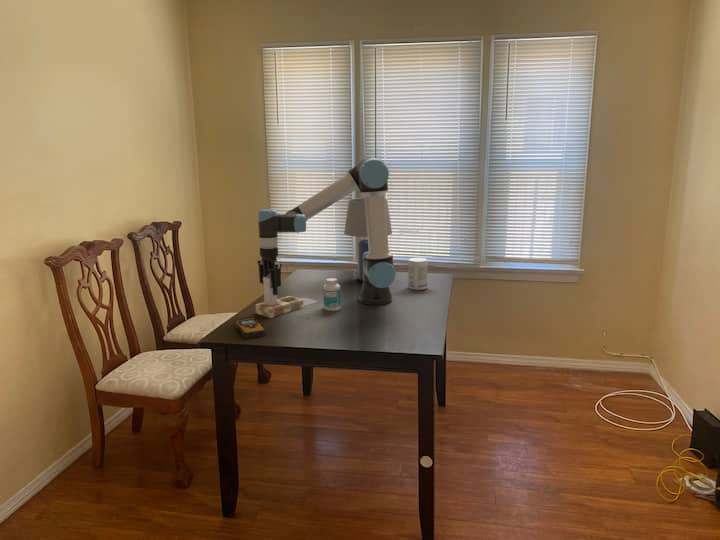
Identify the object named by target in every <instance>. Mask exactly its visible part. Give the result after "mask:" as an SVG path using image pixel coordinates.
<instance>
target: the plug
mask: <svg viewBox="0 0 720 540" xmlns="http://www.w3.org/2000/svg"><path fill="white" fill-rule="evenodd" d="M262 280H263V284H262V286H264V290H263V302H264V305H267V306H274V305H278V301H277V302H274V303H271V287H272V284H271V278H270V274H269V275H268V276H266V277H263V279H262Z"/></svg>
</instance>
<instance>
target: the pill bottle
mask: <svg viewBox="0 0 720 540" xmlns="http://www.w3.org/2000/svg"><path fill="white" fill-rule="evenodd" d="M325 282H326V283H324V285H323V287H322V288H323V310H325V311H330V312H331V311H332V312H337V311H340V310H341V307H342V306H341V305H342V303H341V300H342V299H341V285H340V284H339V283H338V279H337V278H333V277H331V278H326V279H325Z"/></svg>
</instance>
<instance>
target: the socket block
mask: <svg viewBox="0 0 720 540" xmlns="http://www.w3.org/2000/svg"><path fill="white" fill-rule="evenodd" d="M277 301H278V305H274V306H267V305H264V301H262V302H260V303H256V304H255V314H257V315H260V316H264V317H266V318H268V319H273V318H277V317H279V316H280V315H282V314H286V313H289V312H293V311H297V310H300V309H303V308H304V306H303V300H302V299H300V298H299V297H297V296H292V295H287V296H283V297H277Z"/></svg>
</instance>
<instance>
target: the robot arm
mask: <svg viewBox="0 0 720 540" xmlns="http://www.w3.org/2000/svg"><path fill="white" fill-rule="evenodd" d="M389 177H390V172H389V168H388V166H387V163H385V162H384V161H383V160H381V159H380V158H377V157H366V158H363V159H362V160H360V161H359V162H358V163H357V164H356V165H354V166H353V167H352V168H351V169H349V170H347V171H346V174H345V175H343V176H342V177H340V178H339V179H337V180H335V182H333V183H331V184H330V185H329V186H327V187H325V188H323V189H322V190H321V191H319V192H317V193H315V194H314V195H313V196H311V197H309V198H308V199H306V200H304V201H303V202H302V203H300V204H298V205H297V206H295V207H294V208H292V209H289V210H288V211H286V212H285V213H284V214H279V213H278V212H277V210H276V209H270V208H269V209H268V208H266V209H261V210H259V211H258V213H257V214H258V240H259V241H258V242H259V243H258V244H259V245H258V246H259V247H260V248H259V256H260V257H261V259H259V260H257V264H258V274H259V275H258V276H259V279H258V280H259V283H260V284H262V286H263V277H266V276H268V275H270V278H271V284H272V287H271V303H274V302H277V299H278V294H279V293H278V288H279V287H281V286H282V276H281V275H282V263H278V261H277V257H278V256H279V248H278V246H279V243H278V233H279V234H280V233H281V234H282V233H296V234H299V233H305V232H306V231H307V221H309V220H310V219H312V218H313V217H315V216H316V215H318V214H319V213H321V212H322V211H325V210H326V209H328V208H329V207H330V206H332V205H334V204H336V203H337V202H339V201H340V200H342V199H343V198H345V197H347V196H348V195H350V194H351V193H353V192H355V191H359V192H360V194H361V195H362V196H363V198H364V200H365V212H366V224H367V236H368V249H369V252H364V253H363V258H362V259H363V281H362V286H361V289H360V291H359V292H360V293H359V297H358V300H359V301H360V303H362V304H365V305H374V306H378V305H379V306H380V305H386V304H389V303H392V301H393V295H392V292H391V290H390V286H391V285H392V284H393V283H394V282H395V280H396V278H397V277H396V276H397V272H396V268H395V266H394V256H393V255H394V254H393V253H392V252H391V251H390V249H389V235H388V233H387V219H386V205H385V199H386V194H387V193H388V191H389V187H388V186H389V183H388V180H389ZM262 288H263V289H262V291H264V286H263V287H262Z"/></svg>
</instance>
